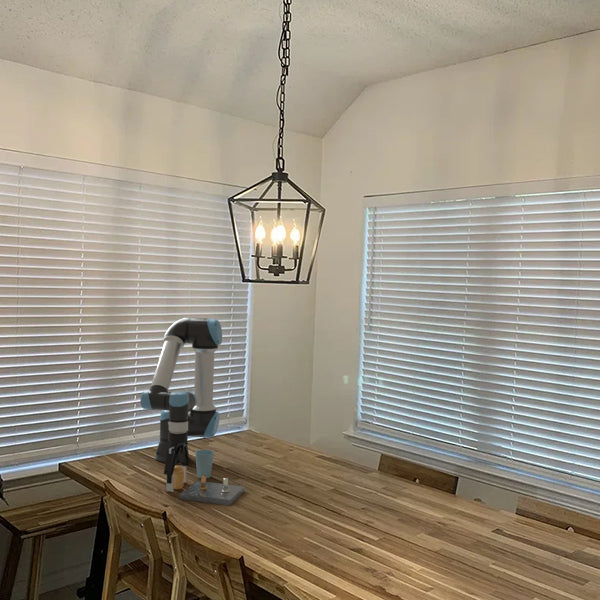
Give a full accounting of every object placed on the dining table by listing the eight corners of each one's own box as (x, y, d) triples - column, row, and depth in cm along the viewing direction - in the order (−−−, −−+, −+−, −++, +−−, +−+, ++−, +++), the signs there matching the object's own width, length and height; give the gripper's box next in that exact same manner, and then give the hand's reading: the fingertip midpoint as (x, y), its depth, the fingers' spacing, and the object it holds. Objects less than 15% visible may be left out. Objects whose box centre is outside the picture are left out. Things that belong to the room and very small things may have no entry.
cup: (209, 472, 268) (209, 448, 268) (215, 478, 262) (216, 453, 261) (192, 475, 264) (192, 450, 264) (198, 480, 258) (199, 455, 257)
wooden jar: (173, 484, 252) (173, 464, 251) (185, 485, 250) (185, 465, 250) (167, 488, 247) (168, 468, 246) (179, 489, 245) (180, 469, 245)
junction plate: (196, 485, 251) (197, 468, 251) (244, 491, 246) (244, 473, 246) (179, 498, 235) (180, 480, 235) (230, 505, 230) (230, 486, 230)
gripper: (181, 424, 260) (180, 476, 261) (155, 437, 237) (153, 494, 238) (198, 425, 258) (196, 478, 259) (174, 439, 236) (172, 497, 236)
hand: (176, 486), depth 248 cm, fingers open, 11 cm apart
